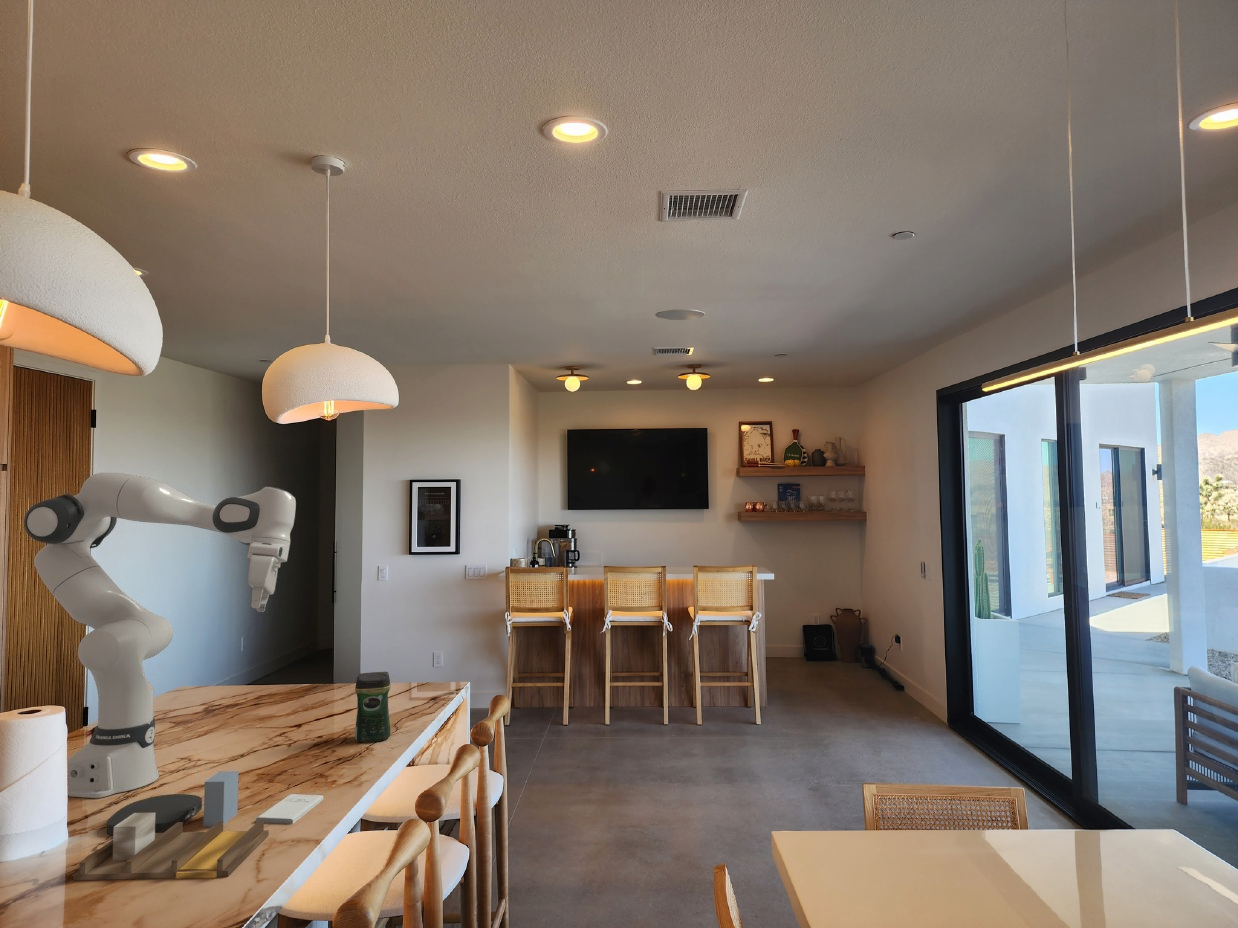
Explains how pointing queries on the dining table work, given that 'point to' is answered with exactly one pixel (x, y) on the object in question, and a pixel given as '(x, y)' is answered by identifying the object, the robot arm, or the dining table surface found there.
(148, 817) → the rack
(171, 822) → the media streaming box
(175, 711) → the dining table surface
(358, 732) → the coffee jar
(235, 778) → the grey rectangular block
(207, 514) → the robot arm
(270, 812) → the external hard drive
